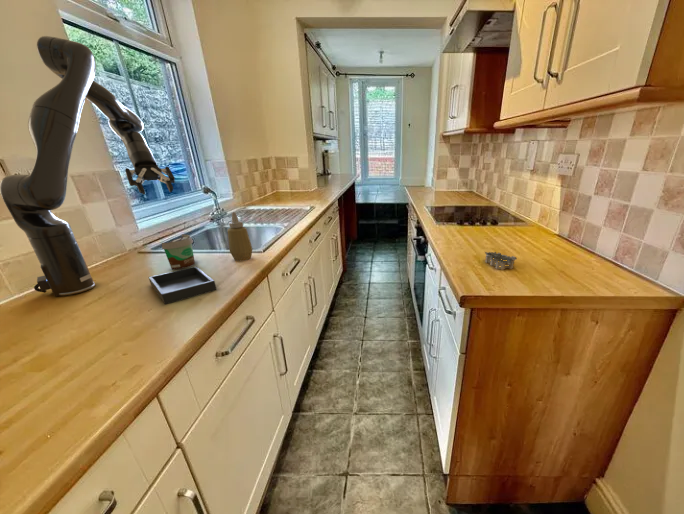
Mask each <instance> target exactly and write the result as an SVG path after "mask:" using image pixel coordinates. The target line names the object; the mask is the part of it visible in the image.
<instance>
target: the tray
mask: <svg viewBox="0 0 684 514" xmlns="http://www.w3.org/2000/svg"><path fill="white" fill-rule="evenodd" d="M148 280H149V283H150V286H151V287H152V289H153V290H154V292H155V293H156V295H157V296H158V297H159V299H160V300H161V301H162V302H163V304H164V305H169V304H172V303H176V302H179V301H182V300H186V299H189V298H193V297H197V296H200V295H205V294H208V293H211V292H215V291H217V290H218V289H217V286H216V281H215V280H214V279H213V278H212V277H210V276H209V275H208V274H207V273H206V272H204V271H203V270H202V269H201V268H199V267H198V266H196V265H195V266H190V267H187V268H182V269H176V270H174V271H173V270H172V271H169V272H165V273H160V274H156V275H151V276H148Z"/></svg>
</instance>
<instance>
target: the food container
mask: <svg viewBox="0 0 684 514" xmlns="http://www.w3.org/2000/svg"><path fill="white" fill-rule="evenodd" d="M193 243H194V240H193V238H192V236H191V235H190V234H181V237H179V238H174V239H172V240H171V241H169V242H161V249H162V250H163V251H164V253H165V256H166V258H167V261H168V264H169V266H170V268H171V270H172V271H173V270H182V269H186V268H191V267H193V266H194V265H195V264H196V261H195V254H194V250H193V249H194V248H193Z"/></svg>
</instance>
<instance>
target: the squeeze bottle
mask: <svg viewBox="0 0 684 514" xmlns="http://www.w3.org/2000/svg"><path fill="white" fill-rule="evenodd" d="M228 226H229V228H228V229H227V239H228V240H227V241H228V249H229V254H231V256H232V258H233V260H234V261H235V262H247V261H250V260H251V259H252V255H253V246H252V242H251V239H250V236H249V232H248V228H247V227H246V226H244V222H243V221H242V220H240V219H239V216H238V214H237V212H236V211H232V212H231V221H229V222H228Z"/></svg>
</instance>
